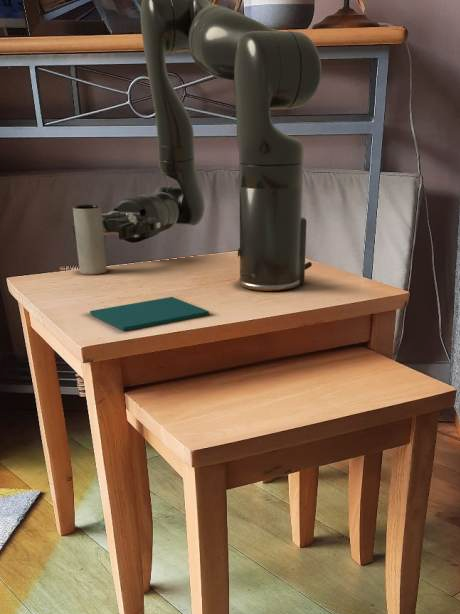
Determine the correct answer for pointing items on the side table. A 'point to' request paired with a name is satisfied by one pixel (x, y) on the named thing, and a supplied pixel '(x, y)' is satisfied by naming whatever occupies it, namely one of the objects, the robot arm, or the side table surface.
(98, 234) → the planter
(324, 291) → the side table surface
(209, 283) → the side table surface
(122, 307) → the towel
